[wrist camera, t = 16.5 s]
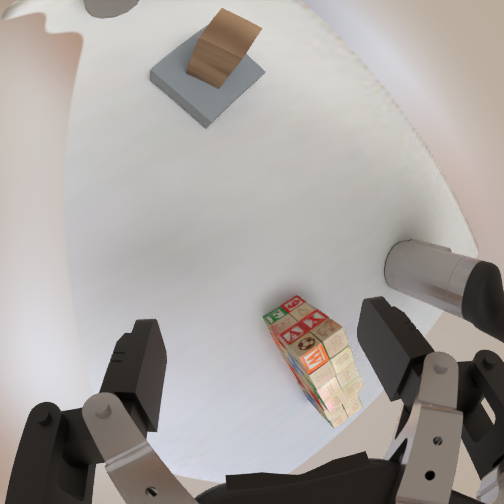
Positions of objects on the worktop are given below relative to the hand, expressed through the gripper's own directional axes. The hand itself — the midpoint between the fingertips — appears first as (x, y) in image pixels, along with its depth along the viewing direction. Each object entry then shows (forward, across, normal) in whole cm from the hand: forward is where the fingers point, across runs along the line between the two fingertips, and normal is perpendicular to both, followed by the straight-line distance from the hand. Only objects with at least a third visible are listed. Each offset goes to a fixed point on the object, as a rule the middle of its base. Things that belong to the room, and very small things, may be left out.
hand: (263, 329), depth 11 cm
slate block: (+31, +3, -14) cm, 34 cm away
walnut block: (+28, +2, -15) cm, 31 cm away
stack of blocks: (+25, -9, +28) cm, 39 cm away
